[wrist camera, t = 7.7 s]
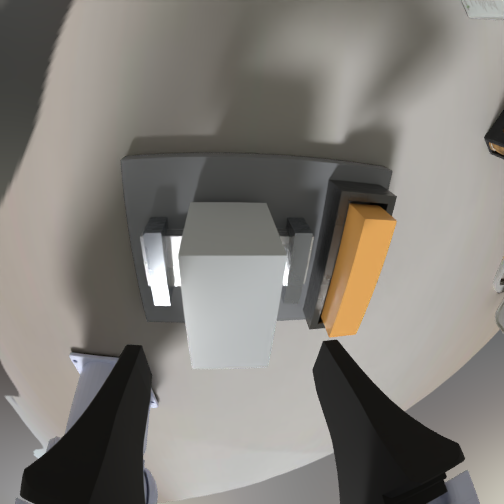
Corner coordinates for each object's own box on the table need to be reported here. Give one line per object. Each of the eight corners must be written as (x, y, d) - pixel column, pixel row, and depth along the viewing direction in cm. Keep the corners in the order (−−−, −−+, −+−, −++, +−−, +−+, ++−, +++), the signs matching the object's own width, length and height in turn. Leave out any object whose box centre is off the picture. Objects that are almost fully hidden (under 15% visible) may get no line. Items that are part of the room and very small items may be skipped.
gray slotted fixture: (345, 307, 21) (354, 325, 20) (157, 312, 20) (153, 332, 18) (380, 184, 16) (396, 196, 14) (138, 176, 14) (128, 188, 13)
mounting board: (346, 307, 23) (350, 315, 22) (149, 312, 21) (147, 321, 20) (384, 166, 16) (392, 171, 16) (126, 155, 15) (120, 160, 14)
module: (255, 295, 19) (268, 367, 14) (196, 296, 19) (192, 368, 14) (264, 197, 16) (287, 255, 11) (191, 196, 15) (177, 255, 10)
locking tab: (346, 314, 19) (355, 334, 18) (320, 316, 19) (329, 337, 17) (379, 205, 15) (396, 220, 13) (349, 203, 15) (365, 219, 13)
